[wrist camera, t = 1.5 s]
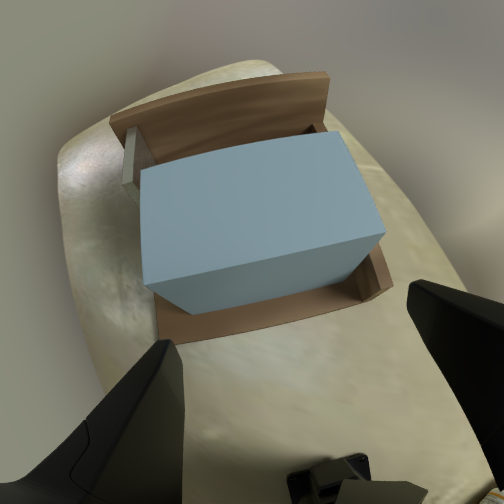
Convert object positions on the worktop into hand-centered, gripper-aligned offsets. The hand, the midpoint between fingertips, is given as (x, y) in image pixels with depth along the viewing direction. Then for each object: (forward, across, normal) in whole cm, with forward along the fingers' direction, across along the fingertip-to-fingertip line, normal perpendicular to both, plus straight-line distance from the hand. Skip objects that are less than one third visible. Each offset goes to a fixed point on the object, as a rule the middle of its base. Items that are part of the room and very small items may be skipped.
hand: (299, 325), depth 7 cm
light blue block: (+14, 0, +4) cm, 15 cm away
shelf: (+16, +1, +3) cm, 17 cm away
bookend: (+19, +8, 0) cm, 20 cm away
